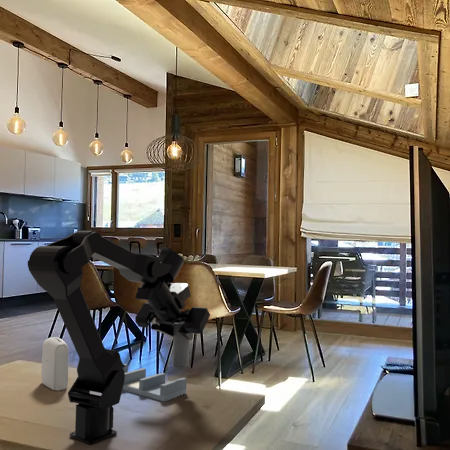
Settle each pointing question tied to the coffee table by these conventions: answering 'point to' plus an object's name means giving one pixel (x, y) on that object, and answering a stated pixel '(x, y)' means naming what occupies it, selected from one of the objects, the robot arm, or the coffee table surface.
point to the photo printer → (55, 363)
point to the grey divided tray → (153, 385)
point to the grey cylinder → (180, 348)
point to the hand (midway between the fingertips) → (184, 338)
